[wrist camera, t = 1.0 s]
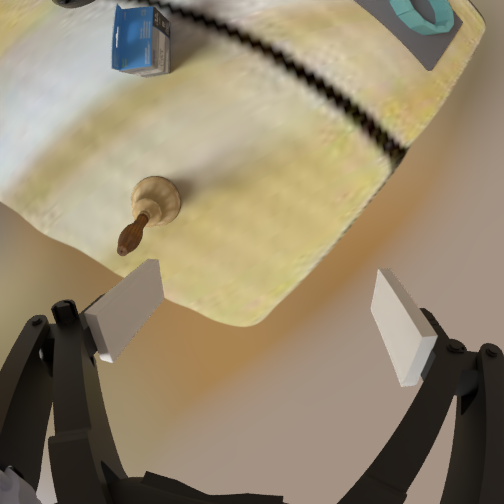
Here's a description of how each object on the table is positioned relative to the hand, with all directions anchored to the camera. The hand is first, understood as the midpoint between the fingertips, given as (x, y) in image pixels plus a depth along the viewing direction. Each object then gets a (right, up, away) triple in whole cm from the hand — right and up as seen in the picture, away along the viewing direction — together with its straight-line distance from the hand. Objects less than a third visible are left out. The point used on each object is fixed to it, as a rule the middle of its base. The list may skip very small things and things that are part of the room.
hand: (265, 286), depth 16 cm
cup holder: (+27, +44, +9) cm, 52 cm away
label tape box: (-14, +31, +14) cm, 37 cm away
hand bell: (-16, +10, +26) cm, 32 cm away
